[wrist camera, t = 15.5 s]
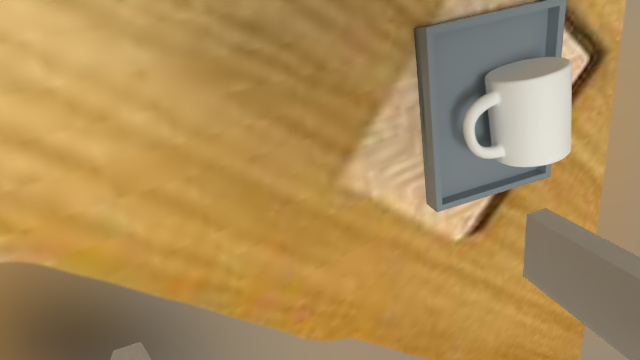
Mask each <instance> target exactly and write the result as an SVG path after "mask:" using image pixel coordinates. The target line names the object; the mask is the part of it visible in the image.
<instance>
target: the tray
mask: <svg viewBox="0 0 640 360" xmlns="http://www.w3.org/2000/svg"><path fill="white" fill-rule="evenodd" d="M565 10H566V0H540V1H535V2H531V3H526V4H522V5H517V6H513V7H508V8H504V9H500V10H495V11H491V12H486V13H482V14H477V15H473V16H468V17H464V18H460V19H455V20H451V21H446V22H442V23H437V24H433V25H428V26H424V27H419V28H415V29H414V33H415V47H416V61H417V74H418V88H419V102H420V116H421V129H422V143H423V157H424V170H425V184H426V198H427V204H428V205H429V206H430V207H431V208H433V209H434V210H435V211H436V212H439V211H442V210H445V209H449V208H452V207H455V206H458V205H461V204H464V203H468V202H471V201H474V200H477V199H480V198H484V197H487V196H490V195H493V194H496V193H499V192H503V191H506V190H509V189H512V188H515V187H518V186H522V185H525V184H528V183H531V182H534V181H538V180H541V179H544V178H547V177H550V174H551V164H548V165H543V166H537V167H514V166H509V165H505V164H502V163H500V162H498V161H497V160H496V159H495V158H494V159H484V158H481V157H478V156H476V155H475V154H474V153H473V152H472V151H471V150H470V149H469V147H468V146H467V144H466V141H465V138H464V134H463V120H464V117H465V114H466V112H467V110H468V109H469V107H470V106H471V105H472V104H473V103H474V102H475V101H476V100H477V99H479V98H480V97H482V96H483V95H485V94H486V87H485V76H486V75H487V74H488V73H489V72H490V71H492V70H494V69H496V68H498V67H501V66H503V65H506V64H510V63H513V62H517V61H521V60H526V59H532V58H540V57H561V54H562V43H563V32H564V21H565ZM475 136H476V140H477V142H478V144H479V145H480V146H482V147H491V136H490V126H489V116H488V109H487V110H486V111H485V112H483V113H482V114H481V115H480V116H479V118H478V119H477V121H476V123H475Z"/></svg>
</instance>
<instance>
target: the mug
mask: <svg viewBox="0 0 640 360" xmlns="http://www.w3.org/2000/svg"><path fill="white" fill-rule="evenodd" d="M571 86H572V63H571V61H570V60H568V59H566V58H562V57H540V58H532V59H526V60H521V61H517V62H513V63H510V64H506V65H503V66H501V67H498V68H496V69H494V70H492V71H490V72H489V73H488V74H487V75H486V76H485V87H486V94H485V95H483V96H482V97H480V98H479V99H477V100H476V101H475V102H474V103H473V104H472V105H471V106H470V107H469V109H468V110H467V112H466V114H465V117H464V120H463V134H464V138H465V141H466V144H467V146H468V147H469V149H470V150H471V151H472V152H473V153H474V154H475V155H476V156H478V157H481V158H484V159H494V158H495V159H496V160H497V161H498V162H500V163H502V164H505V165H509V166H514V167H537V166H543V165H548V164H552V163H555V162H557V161H559V160H561V159H563V158H565V157H566V156H567V155H568V154H569V153H570V151H571ZM487 109H488V116H489V126H490V136H491V147H482V146H480V145H479V144H478V142H477V140H476V136H475V123H476V121H477V119H478V118H479V116H480V115H481V114H482V113H483V112H485V111H486V110H487Z"/></svg>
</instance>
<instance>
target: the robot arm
mask: <svg viewBox="0 0 640 360" xmlns="http://www.w3.org/2000/svg"><path fill="white" fill-rule="evenodd" d="M523 276H524V277H525V278H526V279H528V280H529V281H530V282H531V283H533V284H534V285H535V286H536V287H538V288H539V289H540V290H542V291H543V292H544V293H545V294H547V295H548V296H549V297H550V298H552V299H553V300H554V301H555V302H557V303H558V304H559V305H561V306H562V307H563V308H564V309H566V310H567V311H568V312H569V313H571V314H572V315H573V316H574V317H576V318H577V319H578V320H579V321H581V322H582V323H583V324H585V325H586V326H587V327H589V328H590V329H591V330H592V331H593V332H595V333H596V334H597V335H598V336H600V337H601V338H603V339H604V340H605V341H606V342H607V343H609V344H610V345H611V346H612V347H614V348H615V349H617V350H618V351H619V352H620V353H621V354H623V355H624V356H625V357H626V358H628V359H629V360H640V257H638V256H636V255H634V254H633V253H631V252H629V251H627V250H625V249H623V248H621V247H619V246H617V245H615V244H613V243H611V242H610V241H608V240H606V239H604V238H602V237H600V236H598V235H596V234H594V233H592V232H590V231H588V230H587V229H585V228H583V227H581V226H579V225H577V224H575V223H573V222H571V221H569V220H567V219H565V218H564V217H562V216H560V215H558V214H556V213H554V212H552V211H550V210H548V209H546V208H545V209H542V210H539V211H536V212H533V213H530V214H527V222H526V237H525V253H524V268H523ZM111 360H151V359H150V357H149V355H148V354H147V352H146V350H145V348H144V347H143V345H142V343H141V342H139V343H136V344H133V345H130V346H127V347H124V348H121V349H117V350H114V351H113V354H112V357H111Z"/></svg>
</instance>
